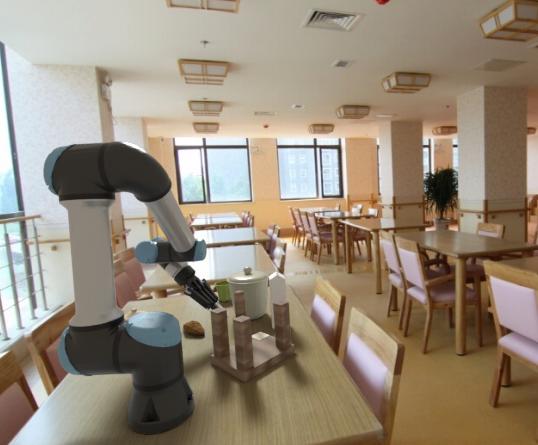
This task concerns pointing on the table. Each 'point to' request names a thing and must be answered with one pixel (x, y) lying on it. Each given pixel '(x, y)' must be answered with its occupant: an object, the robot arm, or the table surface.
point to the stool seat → (250, 343)
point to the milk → (276, 290)
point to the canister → (251, 290)
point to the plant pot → (223, 291)
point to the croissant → (194, 328)
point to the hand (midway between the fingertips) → (226, 318)
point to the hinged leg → (239, 303)
